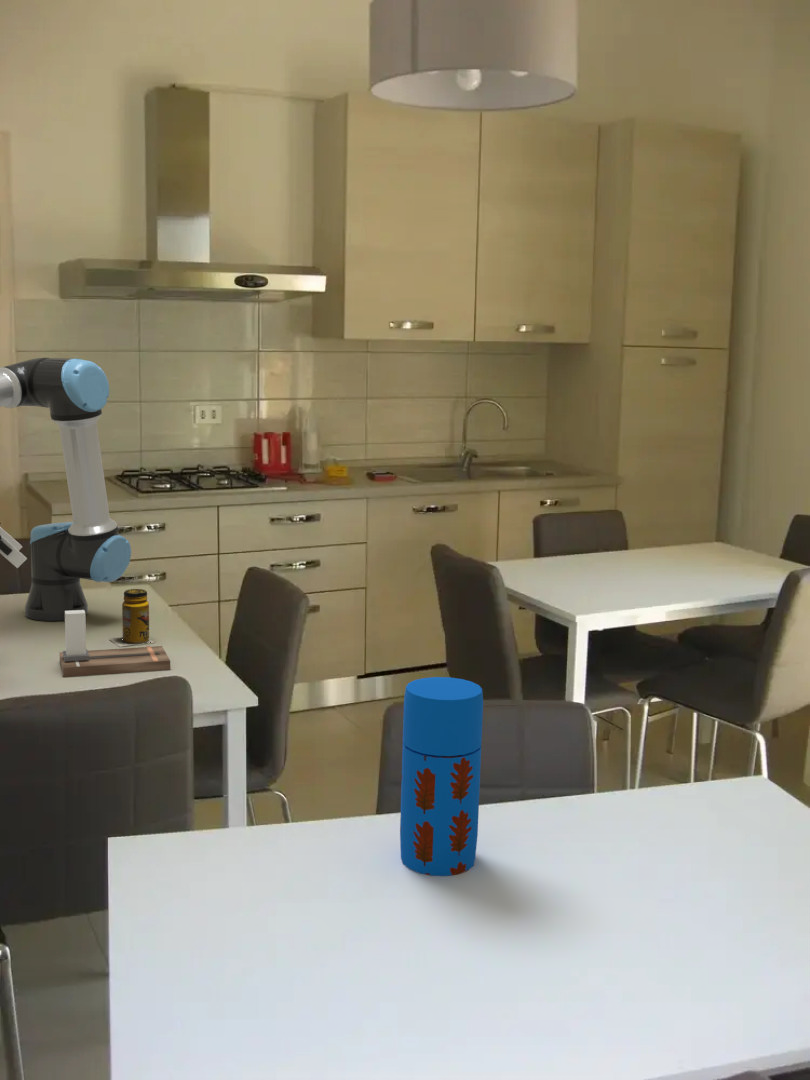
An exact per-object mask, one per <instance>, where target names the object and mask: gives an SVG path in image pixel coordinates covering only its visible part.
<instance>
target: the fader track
mask: <svg viewBox="0 0 810 1080" xmlns="http://www.w3.org/2000/svg"><path fill="white" fill-rule="evenodd" d="M87 651H88V654H89V660H82V661H67V662H65V661H64V657H63V651H62V652H59V663H60V668H62V669H61V671H62V672H61V673H62V676H63V678H70V677H83V676H100V675H110V674H111V675H113V674H114V675H115V674H126V673H127V674H128V673H141V672H144V673H145V672H157V671H158V672H159V671H169V670H171V659H170V658H169V656H168V654H167V652H166V651H165V649H164V647H163V645H157V646H156V645H155V646H150V645H149V646H147V645H146V646H144V647H143V646H142V647H139V646H138V647H125V648H110V649H108V648H107V649H95V650H94V649H93V650H92V649H91V650H87Z"/></svg>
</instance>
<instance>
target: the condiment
mask: <svg viewBox="0 0 810 1080" xmlns="http://www.w3.org/2000/svg"><path fill="white" fill-rule="evenodd" d="M121 605H122V610H121V611H122V614H121V615H122V616H121V617H122V636H121V637H111V638H109V640H110V641H111V642H112V643H113V644H115V645H116V646H118V647H119V648H120V647H121V648H122V647H127V646H140V645H144V644H143V643H148V642H149V643H148V644H154V643H155V640H152V639H150V603H149V601H148V592H147V590H146V589H142V588H131V589H126V590H125V591H124V592H123V602H122V604H121ZM122 639H123V640H122ZM150 642H151V643H150ZM148 644H147V645H148Z"/></svg>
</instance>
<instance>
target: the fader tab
mask: <svg viewBox="0 0 810 1080" xmlns="http://www.w3.org/2000/svg"><path fill="white" fill-rule="evenodd" d="M86 623H87V621H86V615H85V611H84V610H72V611H65V620H64V632H65V634H64V636H65V639H64V640H65V650H62V652H63V657H64V661H65V662H67V661H82V660H89V654H88V651H89V650H88V649H87V633H86V632H87V629H86V628H87V627H86V626H87V625H86Z"/></svg>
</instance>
